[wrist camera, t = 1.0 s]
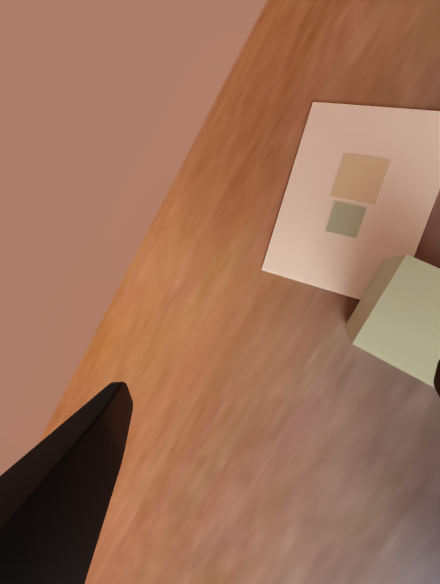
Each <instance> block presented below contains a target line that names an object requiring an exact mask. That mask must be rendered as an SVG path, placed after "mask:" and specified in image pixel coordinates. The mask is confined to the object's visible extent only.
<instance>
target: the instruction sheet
mask: <svg viewBox="0 0 440 584" xmlns="http://www.w3.org/2000/svg"><path fill="white" fill-rule="evenodd" d="M439 190H440V111H430V110H417V109H403V108H390V107H376V106H363V105H349V104H336V103H322V102H313V103H312V107H311V110H310V113H309V116H308V120H307V123H306V126H305V129H304V133H303V136H302V139H301V142H300V146H299V149H298V152H297V155H296V159H295V162H294V165H293V169H292V172H291V175H290V178H289V182H288V185H287V188H286V191H285V195H284V198H283V201H282V204H281V208H280V211H279V214H278V217H277V221H276V224H275V227H274V231H273V234H272V237H271V240H270V244H269V247H268V250H267V253H266V257H265V260H264V263H263V266H262V270H263V271H266V272H269V273H273V274H276V275H279V276H283V277H286V278H289V279H293V280H296V281H299V282H302V283H306V284H309V285H312V286H316V287H319V288H322V289H326V290H329V291H332V292H335V293H339V294H342V295H345V296H349V297H352V298H355V299H359V300H361V298H362V296H363V295H364V293H365V291H366V290H367V288H368V286H369V285H370V283H371V281H372V280H373V278H374V276H375V275H376V273H377V271H378V270H379V268H380V266H381V265H382V263H383V261H384V259H387V258H392V257H396V256H401V255H406V254H407V255H409V256H412V257H414V255H415V253H416V250H417V247H418V245H419V242H420V240H421V237H422V234H423V232H424V229H425V227H426V224H427V221H428V219H429V216H430V213H431V211H432V208H433V206H434V203H435V200H436V198H437V195H438V193H439Z"/></svg>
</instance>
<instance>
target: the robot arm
mask: <svg viewBox="0 0 440 584" xmlns="http://www.w3.org/2000/svg"><path fill="white" fill-rule="evenodd" d="M434 387H435V389H436V391H437V393H438V395H439V397H440V359H439V361H438V364H437V368H436V372H435V376H434ZM132 410H133V401H132V398H131V395H130V393H129V390H128V387H127V384H126V383H125V382H113V383H110V384H109V385H108V386H106V387H105V388H104V389H103V390H102V391H100V392H99V393H98V394H97V395H96V396H95V397H93V398H92V399H91V400H90V401H89V402H87V403H86V404H85V405H84V406H83V407H82V408H80V409H79V410H78V411H77V412H76V413H74V414H73V415H72V416H71V417H70V418H69V419H67V420H66V421H65V422H64V423H63V424H61V425H60V426H59V427H58V428H57V429H55V430H54V431H53V432H52V433H51V434H50V435H48V436H47V437H46V438H45V439H44V440H42V441H41V442H40V443H39V444H38V445H37V446H35V447H34V448H33V449H32V450H31V451H29V452H28V453H27V454H26V455H25V456H24V457H22V458H21V459H20V460H19V461H18V462H16V463H15V464H14V465H13V466H12V467H10V468H9V469H8V470H7V471H6V472H5V473H3V474H2V475H1V476H0V584H85V580H86V577H87V574H88V571H89V567H90V564H91V561H92V558H93V554H94V551H95V548H96V545H97V541H98V538H99V535H100V532H101V528H102V525H103V522H104V519H105V515H106V512H107V509H108V506H109V502H110V499H111V496H112V493H113V489H114V486H115V483H116V480H117V476H118V473H119V470H120V467H121V463H122V459H123V455H124V450H125V445H126V440H127V435H128V430H129V425H130V420H131V415H132Z"/></svg>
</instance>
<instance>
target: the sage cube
mask: <svg viewBox="0 0 440 584" xmlns="http://www.w3.org/2000/svg"><path fill="white" fill-rule="evenodd" d="M345 329H346V331H347V334H348V336H349V338H350V341H351V343H352V344H353V345H355V346H357V347H359V348H361V349H362V350H364V351H366V352H368V353H370V354H372V355H374V356H376V357H377V358H379V359H381V360H383V361H385V362H387V363H389V364H391V365H392V366H394V367H396V368H398V369H400V370H402V371H404V372H406V373H408V374H409V375H411V376H413V377H415V378H417V379H419V380H421V381H423V382H424V383H426V384H428V385H430V386H432V387H434V376H435V372H436V368H437V364H438V361H439V359H440V268H437V267H435V266H433V265H430V264H428V263H426V262H423V261H421V260H419V259H416V258H414V257H412V256H409V255H407V254H406V255H401V256H396V257H392V258H387V259H384V261H383V263H382V265H381V266H380V268H379V270H378V271H377V273H376V275H375V276H374V278H373V280H372V281H371V283H370V285H369V286H368V288H367V290H366V291H365V293H364V295H363V296H362V298H361V300H360V301H359V303H358V305H357V307H356V308H355V310H354V312H353V313H352V315H351V317H350V318H349V320H348V322H347V323H346V325H345ZM434 388H435V387H434Z"/></svg>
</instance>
